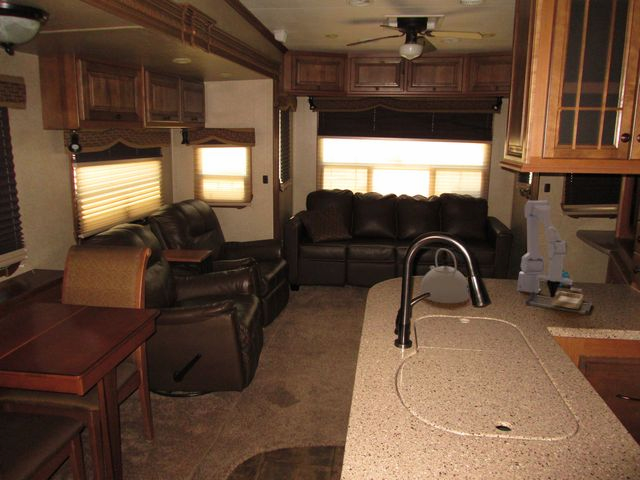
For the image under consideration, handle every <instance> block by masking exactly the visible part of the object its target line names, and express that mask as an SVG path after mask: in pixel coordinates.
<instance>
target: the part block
mask: <svg viewBox="0 0 640 480" xmlns="http://www.w3.org/2000/svg"><path fill="white" fill-rule="evenodd" d="M569 293H575V294H581V295H582V293H583V289H582V288H577V287H570V289H569Z"/></svg>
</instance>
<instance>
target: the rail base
mask: <svg viewBox="0 0 640 480" xmlns="http://www.w3.org/2000/svg"><path fill="white" fill-rule="evenodd" d="M552 299H553V298H550V296H544V295H540V294H539V295H538V294H536V293H535V292H532V293H530V295H529V296H528V297H527V299H526V300H525V305H528V306H533V307H538V308H544V309H549V310H556V311H559V312H561V311H562V312H568V313H573V314H578V315H583V316H589V313H590V310H591V308H592V306H593V300H592V301H591V300H589V302H582V303H581V305H580V307H579V309H572V308H567V307H561V306H555V305H551V304H552Z"/></svg>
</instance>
